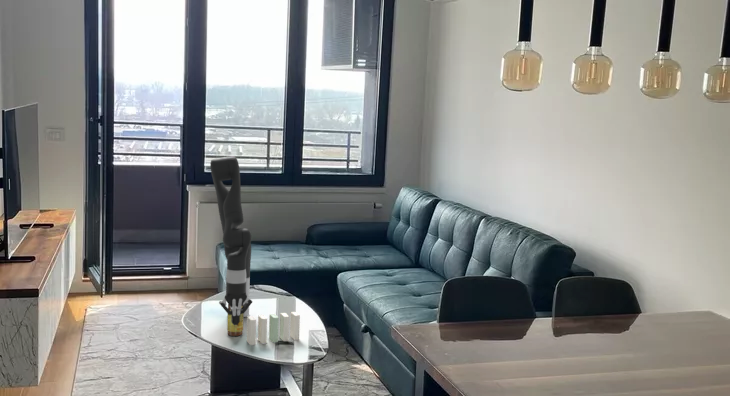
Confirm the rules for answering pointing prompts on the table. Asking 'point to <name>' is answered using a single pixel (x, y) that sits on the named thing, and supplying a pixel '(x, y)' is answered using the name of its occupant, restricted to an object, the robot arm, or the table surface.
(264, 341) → the domino
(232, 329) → the sauce bottle
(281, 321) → the domino
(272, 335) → the domino
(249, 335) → the domino
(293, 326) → the domino
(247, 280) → the robot arm
